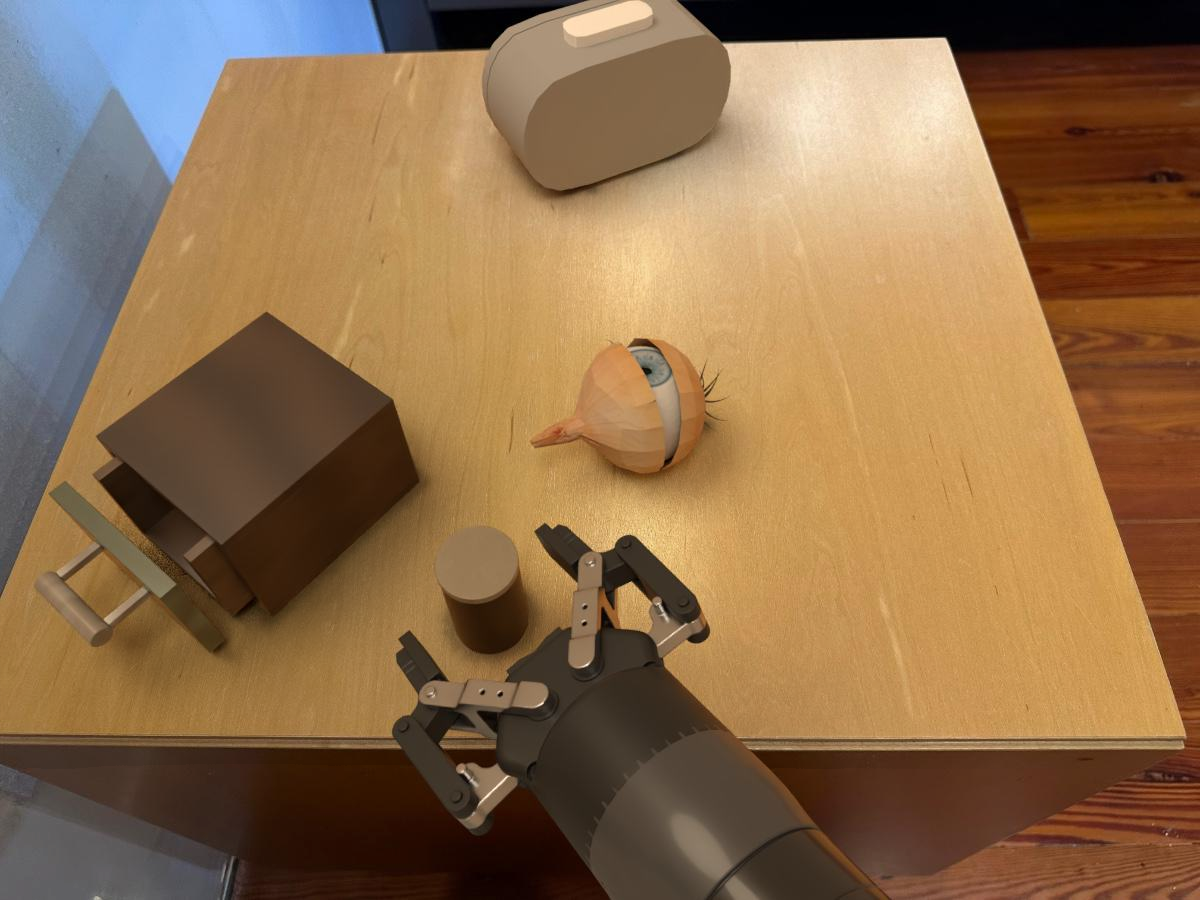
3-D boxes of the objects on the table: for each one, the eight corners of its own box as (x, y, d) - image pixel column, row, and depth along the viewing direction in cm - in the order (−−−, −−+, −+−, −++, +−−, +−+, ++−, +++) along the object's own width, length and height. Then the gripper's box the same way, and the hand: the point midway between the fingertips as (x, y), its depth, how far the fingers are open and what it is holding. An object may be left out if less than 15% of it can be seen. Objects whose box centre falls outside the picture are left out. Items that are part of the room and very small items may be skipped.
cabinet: (272, 617, 60) (221, 545, 53) (157, 515, 65) (94, 435, 57) (419, 481, 66) (393, 398, 59) (305, 397, 71) (266, 310, 63)
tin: (475, 669, 58) (457, 614, 52) (441, 608, 61) (420, 549, 54) (542, 631, 59) (533, 573, 53) (507, 573, 62) (494, 512, 55)
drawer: (154, 704, 56) (94, 654, 50) (50, 599, 60) (-17, 540, 54) (357, 520, 64) (327, 455, 57) (252, 438, 68) (214, 369, 61)
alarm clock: (674, 92, 93) (681, -41, 82) (723, 143, 88) (738, 9, 77) (488, 153, 88) (470, 19, 77) (530, 211, 83) (517, 77, 72)
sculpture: (773, 378, 61) (567, 411, 55) (739, 480, 67) (549, 520, 61) (706, 303, 67) (513, 325, 61) (680, 403, 73) (502, 432, 67)
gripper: (789, 641, 34) (561, 455, 46) (488, 915, 31) (323, 639, 43) (822, 735, 39) (608, 546, 51) (566, 980, 36) (399, 718, 47)
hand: (479, 589), depth 47 cm, fingers open, 8 cm apart
